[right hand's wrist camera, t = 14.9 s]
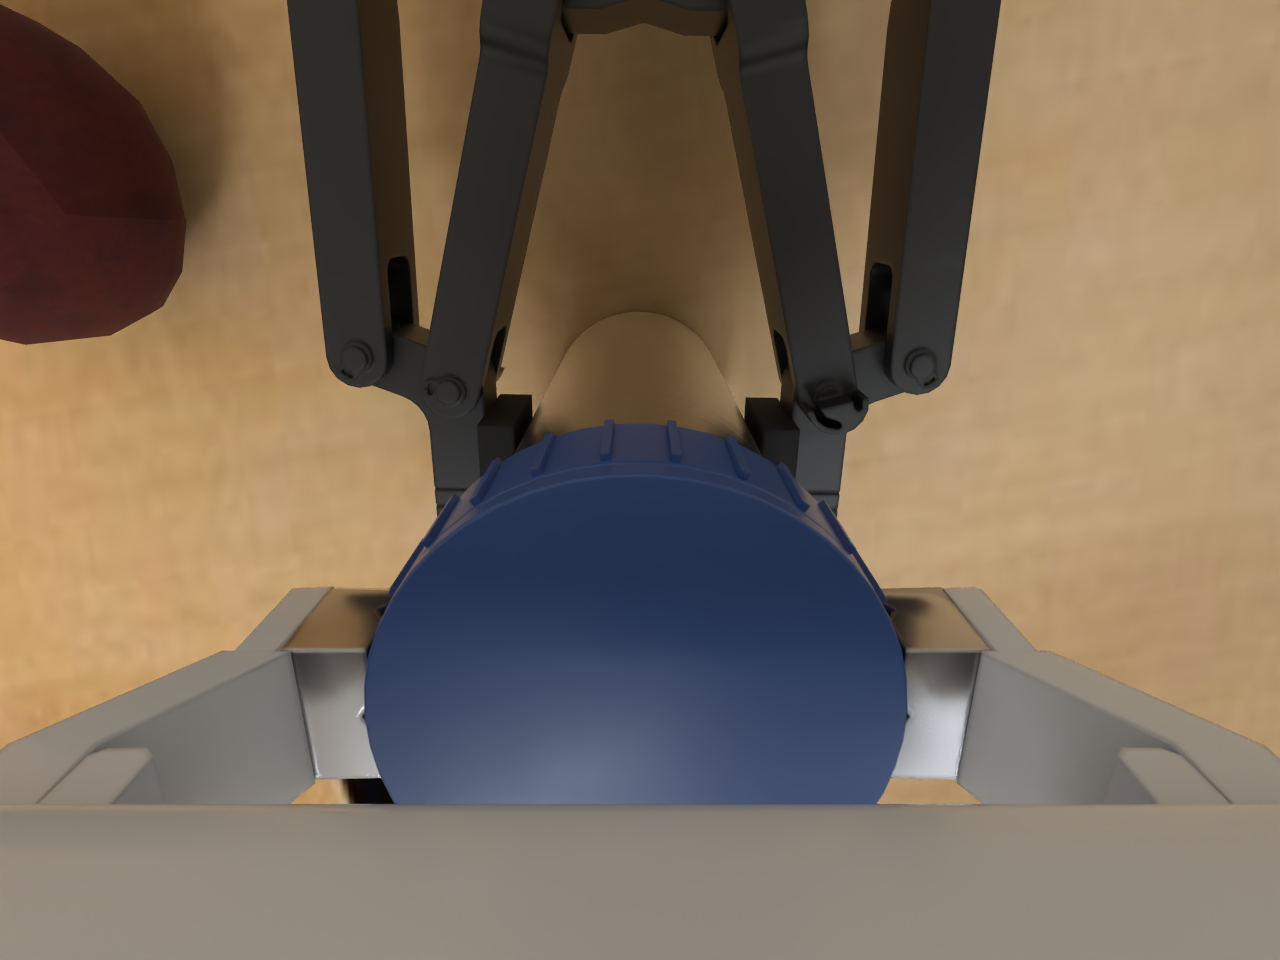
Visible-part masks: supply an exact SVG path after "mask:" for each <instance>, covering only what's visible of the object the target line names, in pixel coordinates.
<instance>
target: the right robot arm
mask: <svg viewBox="0 0 1280 960" xmlns="http://www.w3.org/2000/svg"><path fill="white" fill-rule="evenodd" d="M389 590H390V589H383V588H334V587H308V588H293V589H292V590H291V591H290V592H289V593H288V594H287V595H286V596H285V597H284V598H283V599H282V600H281V601H280V602H279V604H278V605H277V606H276V607H275V608H274V609H273V610H272V611H271V612H270V613H269V614H268V615H267V617H266V618H265V619H264V620H263V621H262V622H261V623H260V624H259V625H258V626H257V627H256V628H255V629H254V631H253V632H252V633H251V634H250V635H249V636H248V637H247V638H246V639H245V640H244V641H243V642H242V643H241V645H240V646H239V647H238V648H237V649H236V650H235V651H221V652H219V653H216V654H214V655H212V656H209V657H207V658H205V659H203V660H200V661H198V662H196V663H193V664H191V665H189V666H186V667H184V668H182V669H180V670H177V671H175V672H173V673H170V674H168V675H166V676H163V677H161V678H159V679H157V680H154V681H152V682H150V683H147V684H145V685H143V686H140V687H138V688H136V689H134V690H131V691H129V692H127V693H124V694H122V695H120V696H117V697H115V698H113V699H111V700H108V701H106V702H104V703H101V704H99V705H97V706H94V707H92V708H90V709H88V710H85V711H83V712H81V713H78V714H76V715H74V716H71V717H69V718H67V719H65V720H62V721H60V722H58V723H55V724H53V725H51V726H48V727H46V728H44V729H42V730H39V731H37V732H35V733H32V734H30V735H28V736H25V737H23V738H21V739H19V740H16V741H14V742H12V743H9V744H7V745H6V746H5V747H3V748H2V749H1V750H0V960H1280V759H1279V758H1278V757H1277V756H1276V755H1275V754H1274V753H1272V752H1271V751H1270V750H1269V749H1268V748H1267V747H1265V746H1264V745H1262V744H1260V743H1257V742H1255V741H1253V740H1251V739H1248V738H1246V737H1244V736H1241V735H1239V734H1237V733H1235V732H1232V731H1230V730H1228V729H1226V728H1223V727H1221V726H1219V725H1216V724H1214V723H1212V722H1210V721H1207V720H1205V719H1203V718H1201V717H1198V716H1196V715H1194V714H1192V713H1189V712H1187V711H1185V710H1182V709H1180V708H1178V707H1176V706H1173V705H1171V704H1169V703H1167V702H1164V701H1162V700H1160V699H1157V698H1155V697H1153V696H1151V695H1148V694H1146V693H1144V692H1142V691H1139V690H1137V689H1135V688H1132V687H1130V686H1128V685H1126V684H1123V683H1121V682H1119V681H1117V680H1114V679H1112V678H1110V677H1107V676H1105V675H1103V674H1101V673H1098V672H1096V671H1094V670H1092V669H1089V668H1087V667H1085V666H1083V665H1080V664H1078V663H1076V662H1073V661H1071V660H1069V659H1067V658H1064V657H1062V656H1060V655H1058V654H1055V653H1053V652H1051V651H1037V650H1036V649H1035V648H1034V647H1033V646H1032V645H1031V644H1030V643H1029V641H1028V640H1027V639H1026V638H1025V637H1024V636H1023V635H1022V634H1021V633H1020V631H1019V630H1018V629H1017V628H1016V627H1015V626H1014V625H1013V624H1012V623H1011V622H1010V620H1009V619H1008V618H1007V617H1006V616H1005V615H1004V614H1003V613H1002V612H1001V611H1000V609H999V608H998V607H997V606H996V605H995V604H994V603H993V602H992V601H991V600H990V598H989V597H988V596H987V595H986V594H985V593H984V592H983V591H982V590H981V589H979V588H976V587H954V588H941V587H936V588H894V589H881V590H882V591H883V593H884V595H885V597H886V599H887V602H885V603H883V606H884V608H885V610H886V612H887V613H888V615H889V617H890V619H891V622H892V624H893V627H894V630H895V633H896V635H897V638H898V641H899V644H900V646H901V650H902V655H903V661H904V666H905V671H906V676H907V702H908V709H907V717H906V725H905V732H904V739H903V743H902V746H901V750H900V753H899V757H898V760H897V763H896V767H895V769H894V771H893V773H892V776H891V778H918V779H955V780H957V783H958V784H959V785H960V786H962V787H963V788H964V789H965V790H966V791H968V792H969V793H970V794H971V795H973V796H974V797H975V798H976V799H977V800H979V801H980V802H981V803H982V804H290V803H291V802H293V801H294V800H295V799H296V798H297V797H299V796H300V795H301V794H302V793H304V792H305V791H306V790H307V789H309V788H310V787H311V786H312V785H313V784H315V780H317V779H353V778H381V777H380V775H379V772H378V769H377V766H376V763H375V760H374V757H373V754H372V751H371V748H370V744H369V739H368V733H367V728H366V722H365V714H364V682H365V675H366V668H367V661H368V655H369V652H370V649H371V646H372V642H373V639H374V636H375V633H376V630H377V626H378V624H379V622H380V620H381V618H382V616H383V614H384V612H385V610H386V608H387V606H388V604H389V602H390V600H391V598H392V596H391V595H389V594H388V592H389Z"/></svg>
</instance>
